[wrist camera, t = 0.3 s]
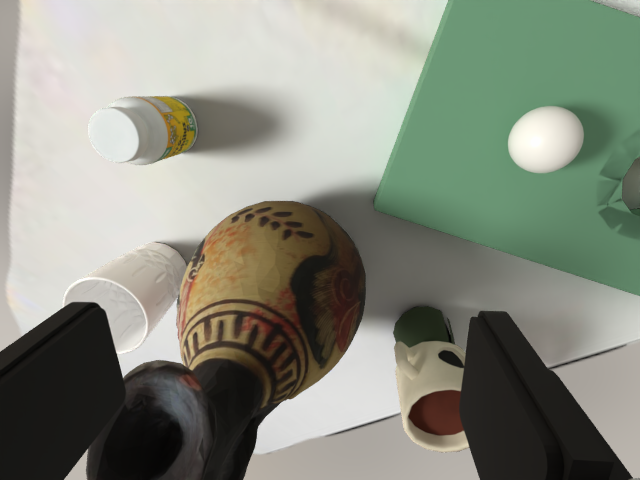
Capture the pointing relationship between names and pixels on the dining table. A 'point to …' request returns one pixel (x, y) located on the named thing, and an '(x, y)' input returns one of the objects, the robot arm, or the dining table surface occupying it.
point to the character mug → (429, 380)
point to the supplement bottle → (143, 129)
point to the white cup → (133, 291)
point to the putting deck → (499, 118)
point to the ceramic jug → (237, 345)
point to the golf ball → (545, 139)
